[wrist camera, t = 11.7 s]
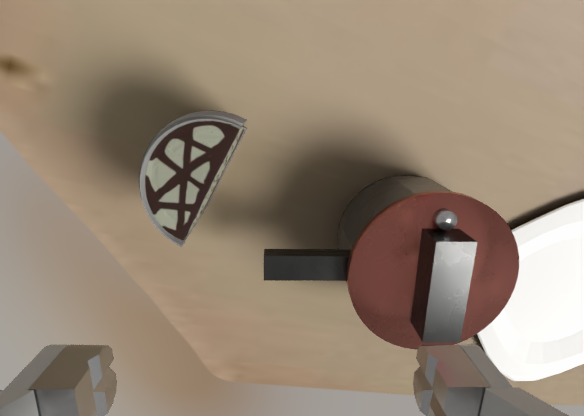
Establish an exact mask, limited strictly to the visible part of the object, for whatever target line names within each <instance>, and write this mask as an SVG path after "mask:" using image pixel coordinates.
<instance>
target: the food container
mask: <svg viewBox="0 0 584 416" xmlns="http://www.w3.org/2000/svg"><path fill="white" fill-rule="evenodd" d="M245 122H246V119H244V118H242V117H239V116H237V115H234V114H230V113H227V112H221V111H198V112H194V113H189V114H186V115H184V116H181V117H179V118H177V119H175V120H174V121H172V122H170V123H169V124H167V125H166V126H165V127H164V128H163V129H162V130H161V131H159V133H158V134H157V135H156V136H155V138H154V139H153V140H152V142H151V143H150V145H149V147H148V149H147V151H146V152H145V154H144V157H143V160H142V163H141V168H140V174H139V188H140V194H141V198H142V201H143V204H144V207H145V210H146V212H147V214H148V216H149V218H150V219H151V221H152V222H153V224H154V225H155V226H156V228H157V229H158V230H159V231H160V232H161V233H162V234H163V235H164V236H165V237H167V238H168V239H169V240H171V241H172V242H173V243H175V244H177V245H179V246H180V247H182V246H183V245H184V243H185V240H186V239H187V237H188V236H189V234H190V233H191V231H192V229H193V228H194V226H195V225H196V223H197V222H198V220H199V218H200V217H201V215H202V214H203V212H204V211H205V209H206V207H207V206H208V204H209V202H210V200H211V198H212V196H213V194H214V192H215V190H216V188H217V186H218V184H219V182H220V180H221V178H222V176H223V174H224V172H225V170H226V168H227V167H228V165H229V163H230V161H231V159H232V157H233V155H234V153H235V151H236V149H237V147H238V145H239V143H240V141H241V139H242V137H243V135H244V133H245V131H246V129H247V128H245V127H242V126H243V124H244V123H245Z"/></svg>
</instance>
